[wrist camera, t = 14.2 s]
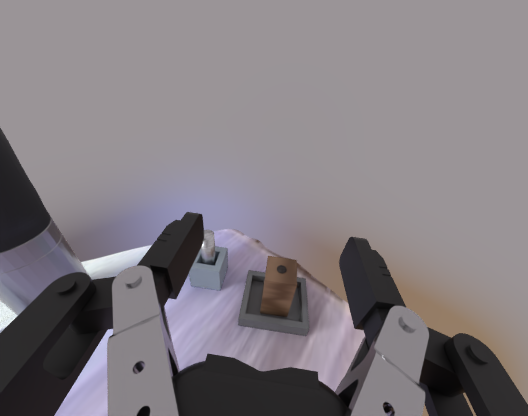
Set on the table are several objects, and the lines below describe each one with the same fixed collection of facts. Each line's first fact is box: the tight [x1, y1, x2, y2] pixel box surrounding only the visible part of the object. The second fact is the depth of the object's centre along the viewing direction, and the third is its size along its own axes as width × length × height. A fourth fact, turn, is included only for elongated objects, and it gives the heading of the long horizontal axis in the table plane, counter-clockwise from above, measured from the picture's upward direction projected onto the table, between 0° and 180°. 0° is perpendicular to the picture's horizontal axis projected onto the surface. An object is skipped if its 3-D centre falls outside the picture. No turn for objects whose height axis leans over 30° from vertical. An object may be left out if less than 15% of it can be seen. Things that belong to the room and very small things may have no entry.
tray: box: [238, 270, 309, 336], centre depth 39 cm, size 12×10×2 cm
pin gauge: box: [201, 230, 216, 266], centre depth 40 cm, size 3×3×12 cm
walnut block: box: [260, 256, 297, 317], centre depth 37 cm, size 5×5×10 cm
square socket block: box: [189, 246, 228, 290], centre depth 42 cm, size 6×6×6 cm
